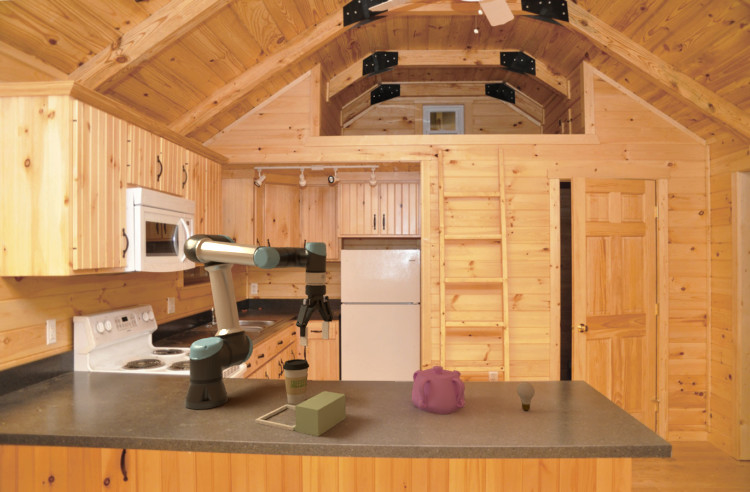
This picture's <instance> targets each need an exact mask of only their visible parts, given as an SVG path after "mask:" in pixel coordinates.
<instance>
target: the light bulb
mask: <svg viewBox="0 0 750 492" xmlns="http://www.w3.org/2000/svg"><path fill="white" fill-rule="evenodd" d="M534 387H535V386H533V384H531V383H530V382H528V381H522V382H520V383H519V384H518V386H517V388H516V392H517V395H518V396H519V398H520V402H521V408H522V410H523V411H525V412H527V411H529V410H530V409H531V402H532V399H533V397H535V392H536V391H535V388H534Z"/></svg>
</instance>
